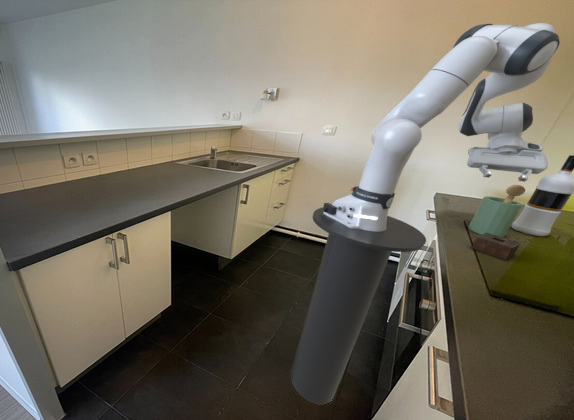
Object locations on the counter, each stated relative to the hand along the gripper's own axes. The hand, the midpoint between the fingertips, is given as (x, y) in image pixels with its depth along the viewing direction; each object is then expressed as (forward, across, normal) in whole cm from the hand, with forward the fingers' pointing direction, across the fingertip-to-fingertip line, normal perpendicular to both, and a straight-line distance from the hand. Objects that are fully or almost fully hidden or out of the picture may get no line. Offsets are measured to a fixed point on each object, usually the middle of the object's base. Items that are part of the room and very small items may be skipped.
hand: (504, 178), depth 92 cm
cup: (+19, 0, +10) cm, 21 cm away
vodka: (+11, +15, +18) cm, 26 cm away
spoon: (+18, 0, +9) cm, 20 cm away
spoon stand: (+33, -6, -5) cm, 34 cm away
